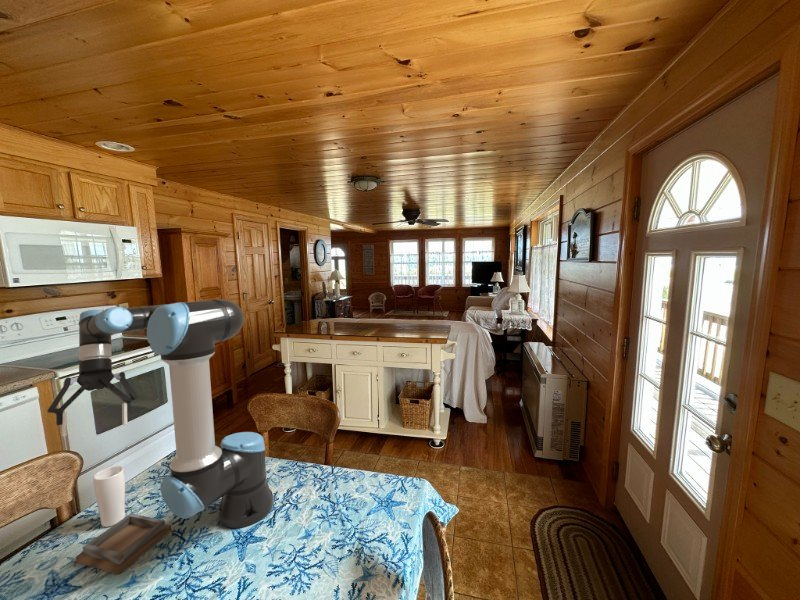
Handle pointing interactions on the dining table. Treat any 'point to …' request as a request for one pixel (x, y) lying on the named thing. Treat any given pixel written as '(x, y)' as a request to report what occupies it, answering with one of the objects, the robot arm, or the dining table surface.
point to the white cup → (110, 494)
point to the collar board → (123, 543)
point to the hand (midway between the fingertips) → (96, 430)
